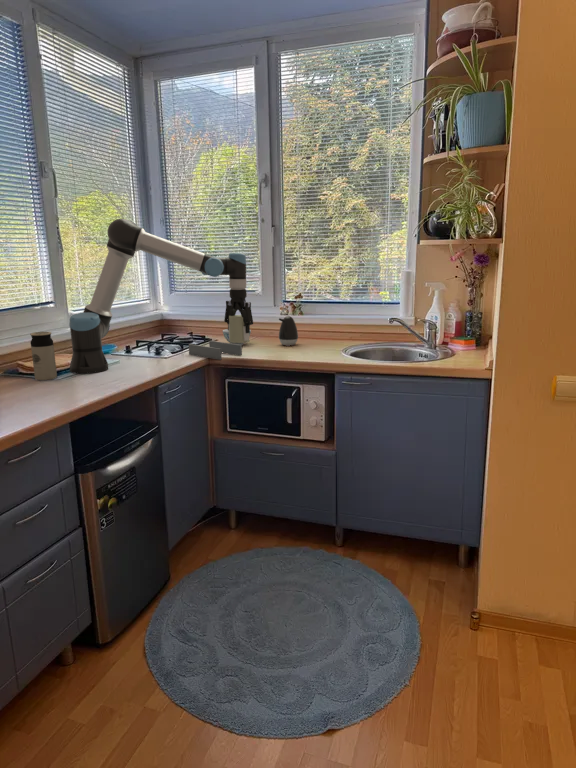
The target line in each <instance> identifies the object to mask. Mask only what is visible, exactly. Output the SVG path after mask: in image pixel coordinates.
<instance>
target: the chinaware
mask: <svg viewBox="0 0 576 768" xmlns="http://www.w3.org/2000/svg"><path fill="white" fill-rule="evenodd" d="M251 332H252V330H251V328H250V333H249V337H250V335H251V334H252V333H251ZM222 335H223V337H224V339H225V340H226V341H227V343H231V344H238V345H242V346H244V344H245V343H232V342H229V340H230V338H229V331H228V328H226V329H222Z"/></svg>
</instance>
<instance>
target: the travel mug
mask: <svg viewBox="0 0 576 768" xmlns="http://www.w3.org/2000/svg"><path fill="white" fill-rule="evenodd" d="M30 336H31V341H30V349H31V356H32V365H33V371H34V372H33V373H34V379H35V380H37V381H51V380H54V379H56V378H58V373H57V363H56V356H55V347H54V346H55V345H54V340H53V339H52V337H51V336H52V332H51V331H35V332H31V333H30Z"/></svg>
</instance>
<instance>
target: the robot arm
mask: <svg viewBox="0 0 576 768" xmlns="http://www.w3.org/2000/svg"><path fill="white" fill-rule="evenodd" d="M107 237H108V241H107V244H106V248H107V250H108V251H107V256H106V258H105V261H104V263H103V267H102V268H101V269H102V270H101V271H100V272H101V273H100V274H99V275H100V276H99V278H98V279H97V280H98V281H97V284H96V287H95V290H94V292H93V295H92V298H91V301H90V303H88V304H87V305H85V306H84V310H83V312H80V313H73V314H72V315H70V317H69V324H68V325H69V330H70V331H69V332H70V338H71V339H70V341H71V347H72V355H71V360H70V363H69V371H70V373H73V374H81V375H82V374H85V375H86V374H95V373H100V372H104V371H105V372H106V371H107V370H109V363H108V361H107V359H106V356H105V354H104V350H103V344H102V341H103V340H102V339H103V338H104V337H105V336H107V335H108V332H109V330H110V324H111V321H112V317H113V314H112V312H111V309H112V306H113V304H114V301H115V298H116V295H117V293H118V290H119V287H120V285H121V283H122V278H123V277H124V273H125V270H126V268H127V265H128V262H129V260H130V259H133V258H134V257H135V254H136V252H144V253H146V254H147V253H148V254H150V255H153V256H155V257H158V258H162V259H164V260H165V261H166V260H167V261H169V262H172V263H175V264H178V265H181V266H184V267H186V268H189V269H192V270H195V271H198V272H200V273H201V274H202V275H203V276H209V277H212V278H216V277H219V276H229V277H228V278H229V281H228V282H229V283H228V284H229V286H228V287H229V288H230V289H229V298H230V300H226V301H225V313H224V319H223V321H224V323H227V329H228V331H229V338H230V330H229V316H235V315H237V311H238V312H239V313H240V315H241V316H242V317H243V322H244V324H245V325H244V326H243V338H244V341H246V340H250V336H249V333H250V329H251V326H252V325H254V320H253V312H252V308H251V307H252V303H251V301H247V300H246V298H247V296H248V295H247V289H246V288H247V257H246V254H245V253H243V252H239V253H238V252H237V253H236V252H230V253H229V254H228V257H215V256H213V255H209V254H206V253H203V252H201V251H198V250H196V249H193V248H191V247H187V246H185V245H182V244H180V243H177V242H175V241H170V240H168V239H166V238H162V237H160V236H158V235H154V234H152V233H149V232H146V231H145V229H144V228H143V227H140V226H139V225H138V224H136V223H135V222H134V221H132V220H128V219H127V218H126V219H125V218H116V219H114V220H113V221H111V222H110V224H109V226H108V227H107ZM250 334H251V333H250Z"/></svg>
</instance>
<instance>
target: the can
mask: <svg viewBox="0 0 576 768" xmlns="http://www.w3.org/2000/svg"><path fill="white" fill-rule="evenodd" d="M244 325H245V324H244V322H243V317H242V316H241V314H235V316H229V330H230V340H229V342H228V343H230V342H232V343H244V344H245V343H246V344H247V343H249V342H251V341H250V339H249V340H246V341H244V338H243V326H244Z"/></svg>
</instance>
